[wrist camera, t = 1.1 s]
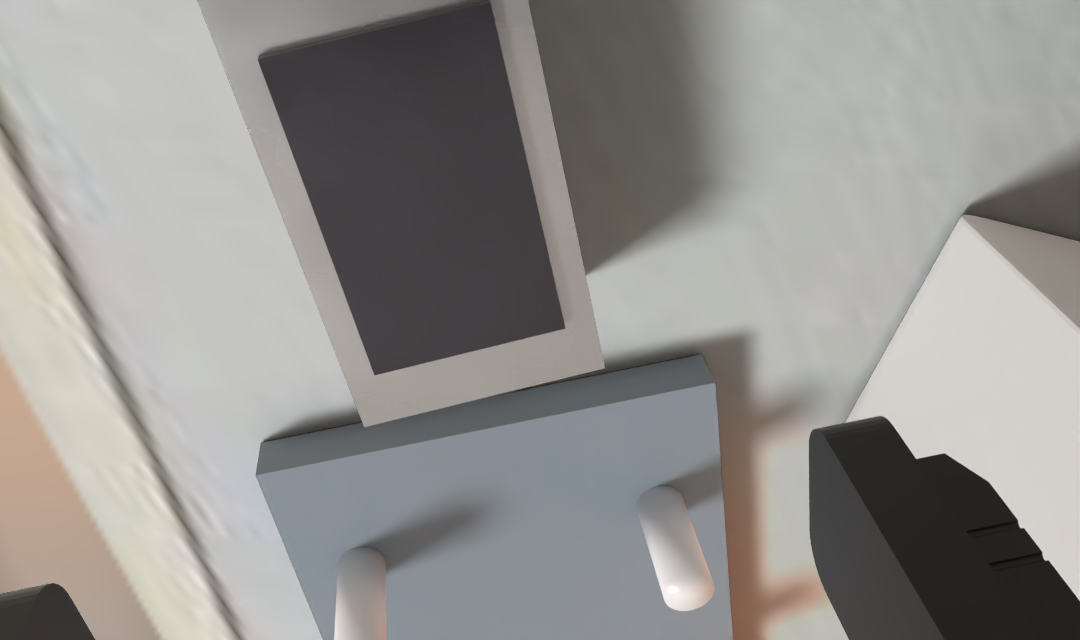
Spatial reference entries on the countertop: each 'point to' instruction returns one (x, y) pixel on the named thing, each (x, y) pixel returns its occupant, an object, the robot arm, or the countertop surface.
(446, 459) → the grey plate with pegs
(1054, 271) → the milk carton
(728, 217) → the countertop surface
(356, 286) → the block
